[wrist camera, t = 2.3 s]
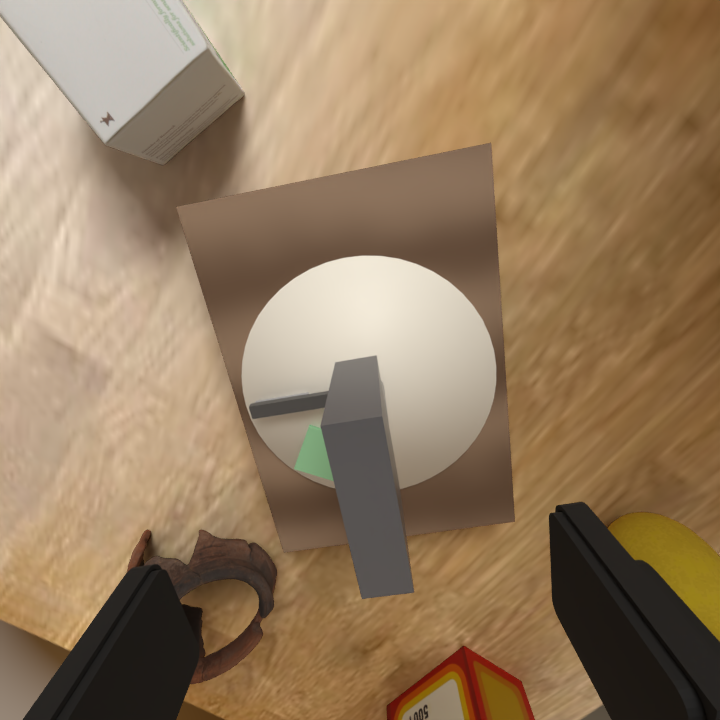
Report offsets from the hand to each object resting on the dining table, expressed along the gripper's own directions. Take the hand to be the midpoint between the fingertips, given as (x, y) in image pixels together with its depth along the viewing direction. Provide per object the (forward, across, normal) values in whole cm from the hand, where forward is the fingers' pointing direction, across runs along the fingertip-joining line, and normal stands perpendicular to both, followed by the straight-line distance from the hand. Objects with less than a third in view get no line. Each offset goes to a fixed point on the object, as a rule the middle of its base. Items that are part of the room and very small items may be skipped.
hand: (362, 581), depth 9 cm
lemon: (+14, -16, +13) cm, 25 cm away
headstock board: (+14, 0, -1) cm, 14 cm away
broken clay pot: (+15, +14, +13) cm, 24 cm away
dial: (+11, 0, -1) cm, 11 cm away
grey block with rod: (+11, +2, -1) cm, 11 cm away
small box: (+14, +6, -17) cm, 23 cm away
